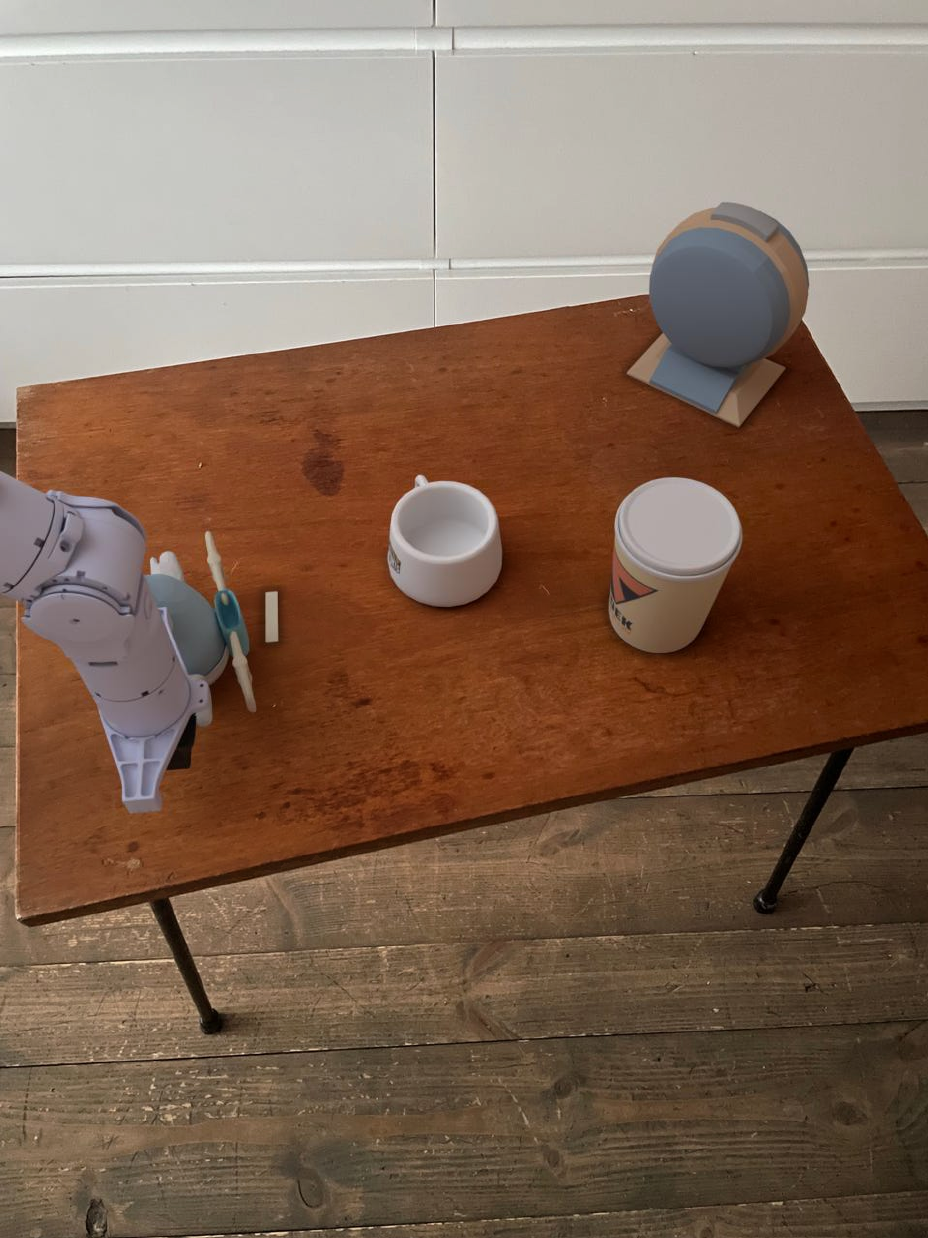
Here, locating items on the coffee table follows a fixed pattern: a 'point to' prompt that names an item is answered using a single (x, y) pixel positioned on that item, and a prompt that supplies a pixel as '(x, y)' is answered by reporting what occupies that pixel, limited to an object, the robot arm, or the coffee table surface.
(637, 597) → the coffee cup
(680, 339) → the alarm clock
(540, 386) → the coffee table surface
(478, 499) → the mug
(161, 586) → the toy figure
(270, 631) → the tape marks
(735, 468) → the coffee table surface
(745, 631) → the coffee table surface
